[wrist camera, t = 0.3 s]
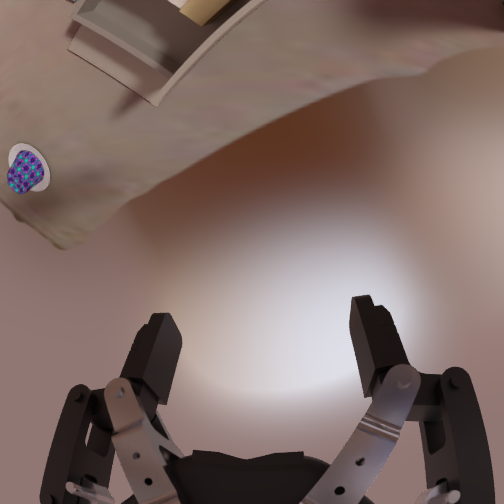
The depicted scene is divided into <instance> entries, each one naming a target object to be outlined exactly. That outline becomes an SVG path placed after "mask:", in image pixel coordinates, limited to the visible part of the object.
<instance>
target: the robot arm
mask: <svg viewBox="0 0 504 504" xmlns="http://www.w3.org/2000/svg"><path fill="white" fill-rule="evenodd" d="M349 328H350V335H351V339H352V343H353V347H354V351H355V356H356V360H357V364H358V369H359V374H360V378H361V383H362V388H363V393H364V398H366V397H371V396H372V403H371V405H370V407H369V409H368V410H367V412H366V414H365V416H364V417H363V418H362V420H361V421H360V423H359V424H358V426H357V428H356V429H355V431H354V432H353V434H352V435H351V437H350V438H349V440H348V442H347V443H346V444H345V446H344V447H343V449H342V450H341V452H340V453H339V454H338V456H337V457H336V459H335V460H334V461H333V463H332V464H331V465H330V464H328V463H326V462H324V461H322V460H319V459H317V458H313V457H309V456H304V452H303V451H302V452H287V453H273V454H269V455H265V456H261V457H256V458H252V459H241V458H237V457H234V456H230V455H227V454H223V453H220V452H211V451H200V450H193V453H192V455H190V456H186V457H185V456H184V454H183V453H182V452H181V450H180V449H179V448H178V447H177V446H176V444H175V443H174V442H173V440H172V438H171V436H170V434H169V432H168V431H167V429H166V427H165V425H164V423H163V421H162V419H161V417H160V415H159V413H158V411H157V410H156V409H157V405H158V404H162V405H167V401H168V397H169V392H170V389H171V385H172V381H173V377H174V373H175V369H176V366H177V362H178V359H179V354H180V351H181V347H182V336H181V334H180V332H179V330H178V328H177V326H176V324H175V322H174V320H173V318H172V316H171V315H170V313H153V314H152V316H151V318H150V320H149V322H148V324H144V326H143V327H142V328H141V329H140V330H139V331H138V333H137V335H136V337H135V340H134V343H133V344H132V347H131V350H130V352H129V354H128V357H127V359H126V362H125V364H124V367H123V369H122V372H121V375H120V377H119V378H116V379H113V380H112V381H110V382H109V383H108V384H107V386H106V387H105V388H103V389H97V390H90V389H89V388H88V387H87V386H85V385H83V384H79V385H76V386H75V387H73V388H72V389H71V390H70V392H69V393H68V396H67V399H66V402H65V404H64V407H63V410H62V413H61V416H60V419H59V422H58V425H57V428H56V431H55V435H54V438H53V441H52V445H51V448H50V452H49V456H48V459H47V463H46V468H45V472H44V476H43V481H42V486H41V491H40V503H41V504H114V503H115V500H114V498H113V497H112V496H111V494H110V492H109V490H108V486H109V480H110V475H111V469H112V464H113V458H114V454H115V451H116V453H117V456H118V458H119V461H120V463H121V466H122V468H123V471H124V473H125V475H126V478H127V480H128V482H129V484H130V486H131V489H132V491H133V493H134V494H133V495H132V496H131V497H130V498H128V499H127V500H125V501H124V502H123V503H121V504H374V503H373V502H372V501H371V500H370V499H369V498H367V497H366V496H365V493H366V492H367V490H368V489H369V487H370V486H371V484H372V483H373V481H374V480H375V478H376V477H377V475H378V474H379V472H380V470H381V469H382V467H383V465H384V464H385V462H386V460H387V458H388V457H389V455H390V453H391V452H392V450H393V448H394V446H395V444H396V442H397V440H398V438H399V435H400V434H399V433H400V430H401V428H402V426H403V424H404V421H419V426H420V432H421V439H422V445H423V453H424V461H425V470H426V482H427V490H425V491H424V492H422V493H421V494H420V495H419V496H418V498H417V499H416V501H415V504H495V491H494V480H493V471H492V463H491V457H490V451H489V446H488V441H487V436H486V431H485V427H484V423H483V419H482V415H481V411H480V407H479V404H478V401H477V397H476V394H475V391H474V388H473V384H472V382H471V378H470V376H469V374H468V373H467V372H466V371H465V370H464V369H462V368H460V367H451V368H448V369H447V370H446V371H445V372H444V373H443V374H442V375H440V374H424V373H420V372H418V371H417V370H416V369H415V368H414V367H412V366H411V365H410V363H409V361H408V359H407V356H406V353H405V350H404V348H403V345H402V342H401V340H400V337H399V334H398V333H397V329H396V326H395V325H394V321H393V319H392V316H391V314H390V312H389V311H388V310H387V309H386V308H385V307H384V306H382V305H379V306H374V304H373V301H372V299H371V296H370V295H363V296H356V297H352V301H351V311H350V320H349ZM90 423H92V424H93V425H92V428H91V432H90V436H89V440H88V443H87V447H86V444H85V439H86V435H87V431H88V428H89V424H90Z"/></svg>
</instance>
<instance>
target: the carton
mask: <svg viewBox="0 0 504 504" xmlns="http://www.w3.org/2000/svg"><path fill="white" fill-rule="evenodd" d="M266 1H267V0H237V1H236V2H235V3H234V4H233V5H231V6H230V7H229V8H228V9H227V10H226V11H224V12H223V13H222V14H221V15H220V16H219V17H218V18H217V19H216V20H215V21H213V22H212V23H211V24H209V25H205V26H202V27H201V26H200V25H198V24H197V23H195V22H194V21H193V20H191V19H190V18H188V17H187V16H185V15H184V14H182V13H181V12H179V11H180V10H181V9H180V8H179V7H177V6H176V5H174V4H172V3H171V2H169V1H168V0H80V1H79V2H78V4H77V6H76V7H75V9H74V11H73V12H72V14H71V16H70V17H69V18H71V19H73V20H75V21H77V22H79V23H81V24H82V25H81V26H80V28H79V30H78V31H77V33H76V35H75V37H74V38H73V40H72V42H71V44H70V46H69V48H68V50H70V51H72V52H73V53H75V54H77V55H78V56H80V57H82V58H83V59H85V60H87V61H88V62H90V63H92V64H93V65H95V66H96V67H98V68H100V69H101V70H103V71H104V72H106V73H108V74H109V75H111V76H112V77H114V78H115V79H117V80H118V81H120V82H121V83H123V84H124V85H126V86H127V87H129V88H130V89H132V90H133V91H135V92H136V93H138V94H139V95H141V96H142V97H144V98H145V99H147V100H148V101H149V102H151V104H152V105H154V106H155V107H156V106H158V105H159V103H160V102H161V101H162V100H163V98H164V97H165V96H166V95H167V94H168V92H169V91H170V90H171V89H172V88H173V87H174V86H175V85H176V84H177V83H178V82H179V81H180V80H181V79H182V78H183V77H184V76H185V75H186V74H187V73H188V72H189V71H190V70H191V69H192V68H193V66H194V65H195V64H196V63H197V62H198V61H199V60H200V59H201V58H202V57H203V56H204V55H205V54H206V53H207V52H208V51H209V50H210V49H211V48H212V47H213V46H214V45H215V44H216V43H217V42H219V41H220V40H221V39H222V38H223V37H224V36H225V35H226V34H227V33H228V32H229V31H231V30H232V29H233V28H234V27H235V26H236V25H237V24H239V23H240V22H241V21H242V20H243V19H245V18H246V17H247V16H248V15H249V14H251V13H252V12H253V11H254V10H256V9H257V8H258V7H260V6H261V5H262V4H263V3H265V2H266Z"/></svg>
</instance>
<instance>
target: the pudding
mask: <svg viewBox="0 0 504 504" xmlns="http://www.w3.org/2000/svg"><path fill="white" fill-rule="evenodd" d="M21 150H29V151H31V152H29V151H28V152H25V151H21ZM19 151H21V152H20V153H19V154H18V155H17V153H18V152H19ZM32 152H33V153H34V154H35V155H36V156H37V157H38V158H39V159H40V160H39V159H38V158H36V157H35V156H34V154H33V153H32ZM16 155H17V156H16ZM40 161H41V162H40ZM41 163H42V164H41ZM41 165H43V167H44V170H43V169H42V167H41ZM9 166H10V169H9V171H8V173H7V179H8V184H9V185H10V186H11V188H12V190H13V191H16V192H17V193H18V194H22V193H26V192H28V191H29V190H31V191H36V192H38V191H43V190H44V189H46V188H47V187H48V185H49V182H50V172H49V168H48V166H47V163H46V161H45V159H44V158H43V157H42V155H41V154H40V153H39V152H38V151H37V150H36V149H35V148H33V147H32V146H30V145H27V144H23V143H20V144H16V145H15V146H13V147H12V149H11V150H10V153H9ZM43 175H44V178H43V180H42V176H43ZM41 180H42V181H41ZM39 182H40V183H39Z"/></svg>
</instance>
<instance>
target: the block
mask: <svg viewBox="0 0 504 504" xmlns="http://www.w3.org/2000/svg"><path fill="white" fill-rule="evenodd" d="M168 1H169V2H171V3H172V4H174V5H176V6H177V7H179V8H180V9H181V10H180V11H179V12H181V13H182V14H184V15H185V16H187V17H188V18H190V19H191V20H193V21H194V22H195V23H197V24H198V25H200V26H201V27H202V26H205V25H209V24H211V23H212V22H213V21H215V20H216V19H217V18H218V17H219V16H220V15H221V14H222V13H223V12H224V11H226V10H227V9H228V8H229V7H230V6H231V5H233V4H234V3H235V2H236V1H237V0H168Z"/></svg>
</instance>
